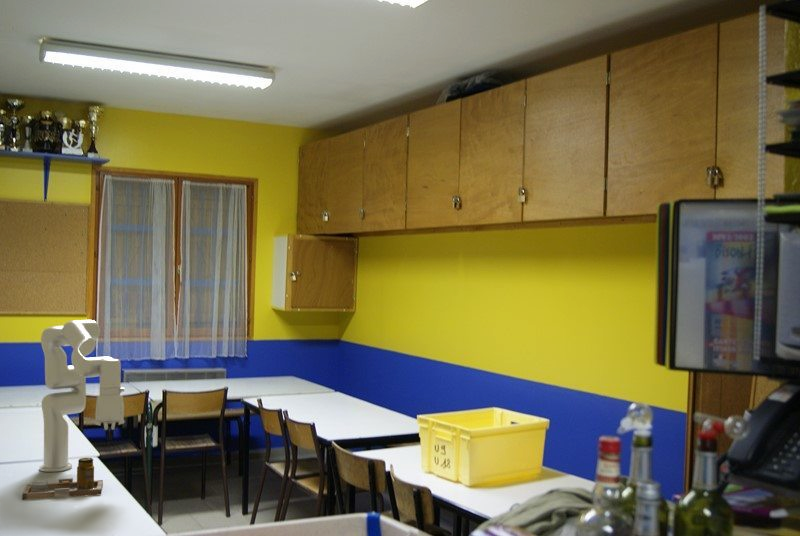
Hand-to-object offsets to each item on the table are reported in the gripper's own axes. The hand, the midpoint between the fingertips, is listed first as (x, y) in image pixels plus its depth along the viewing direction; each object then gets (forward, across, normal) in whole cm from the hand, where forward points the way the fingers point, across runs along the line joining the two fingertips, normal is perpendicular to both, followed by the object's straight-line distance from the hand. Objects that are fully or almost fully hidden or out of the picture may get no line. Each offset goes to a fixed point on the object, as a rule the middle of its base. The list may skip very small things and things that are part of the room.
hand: (109, 439), depth 318 cm
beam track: (+19, +16, 0) cm, 25 cm away
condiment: (+19, +9, 0) cm, 21 cm away
